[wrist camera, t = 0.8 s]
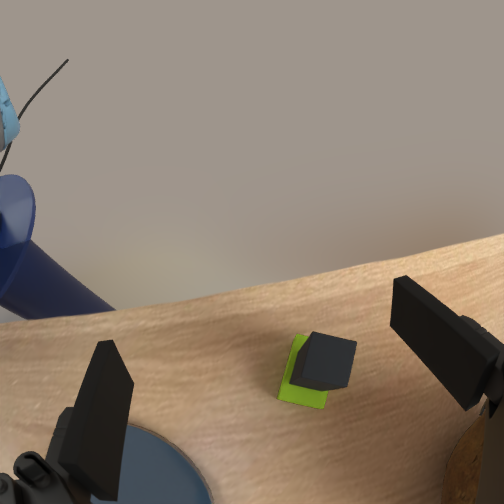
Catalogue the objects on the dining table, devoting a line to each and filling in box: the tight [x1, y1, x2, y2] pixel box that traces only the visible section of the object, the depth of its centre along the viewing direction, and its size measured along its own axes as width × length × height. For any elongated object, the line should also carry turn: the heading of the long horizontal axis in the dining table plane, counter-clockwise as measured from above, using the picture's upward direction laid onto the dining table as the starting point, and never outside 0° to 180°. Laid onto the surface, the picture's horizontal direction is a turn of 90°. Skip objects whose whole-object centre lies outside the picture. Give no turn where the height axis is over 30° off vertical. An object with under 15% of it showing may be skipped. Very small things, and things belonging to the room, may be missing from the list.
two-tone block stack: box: [277, 331, 357, 409], centre depth 23 cm, size 6×4×11 cm, turn 163°
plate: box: [90, 423, 214, 504], centre depth 21 cm, size 18×18×1 cm
